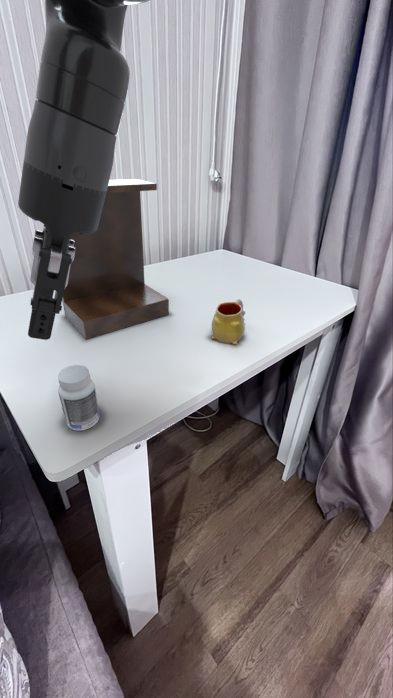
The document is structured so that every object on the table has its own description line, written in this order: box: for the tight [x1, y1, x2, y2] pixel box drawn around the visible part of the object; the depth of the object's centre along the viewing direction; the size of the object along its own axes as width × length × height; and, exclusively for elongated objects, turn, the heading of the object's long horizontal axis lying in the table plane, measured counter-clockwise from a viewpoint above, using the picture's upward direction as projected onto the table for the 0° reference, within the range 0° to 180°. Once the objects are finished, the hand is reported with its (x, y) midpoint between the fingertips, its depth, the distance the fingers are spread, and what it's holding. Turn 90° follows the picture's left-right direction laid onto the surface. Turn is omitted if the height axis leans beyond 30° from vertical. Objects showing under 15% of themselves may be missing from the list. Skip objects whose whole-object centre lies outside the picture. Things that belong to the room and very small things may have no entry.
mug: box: [210, 299, 246, 345], centre depth 70 cm, size 12×7×7 cm, turn 152°
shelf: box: [62, 178, 170, 340], centre depth 69 cm, size 20×12×27 cm, turn 127°
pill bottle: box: [57, 364, 100, 431], centre depth 46 cm, size 5×5×8 cm
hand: (40, 317), depth 39 cm, fingers open, 8 cm apart
